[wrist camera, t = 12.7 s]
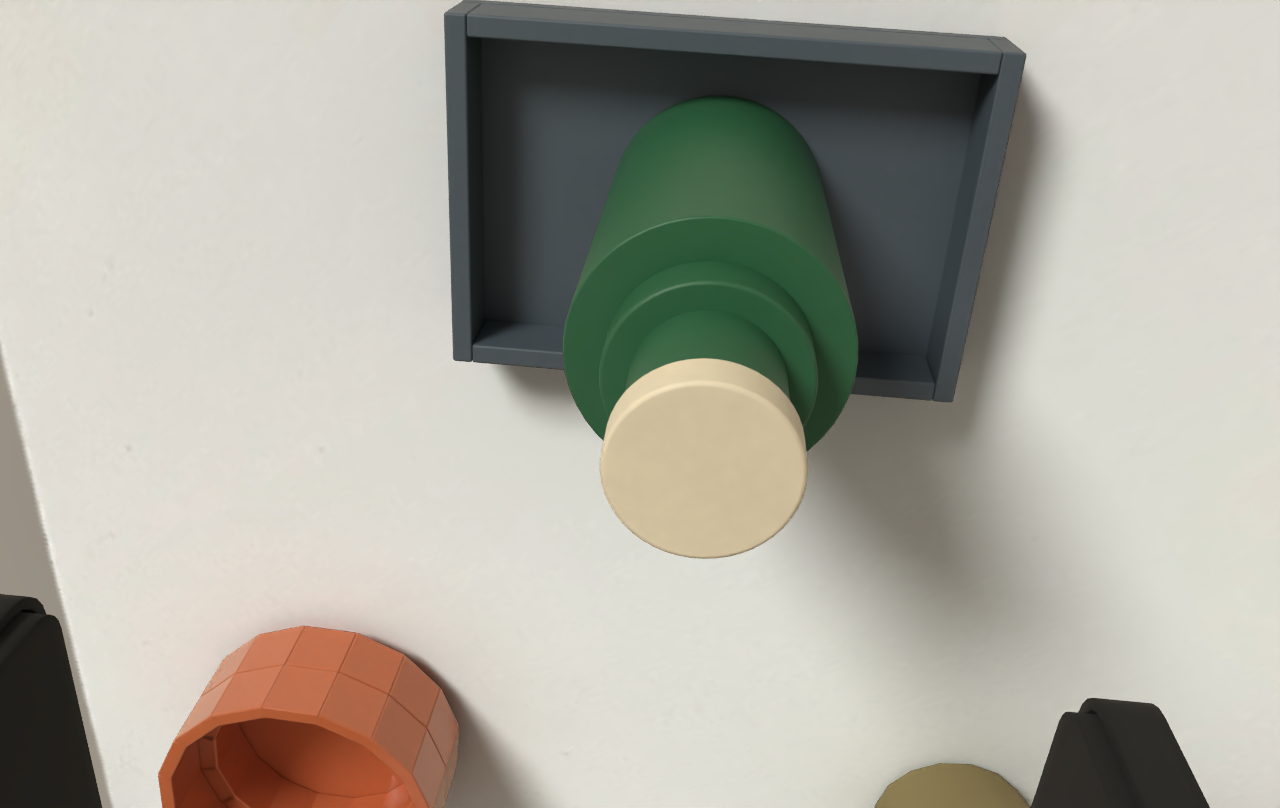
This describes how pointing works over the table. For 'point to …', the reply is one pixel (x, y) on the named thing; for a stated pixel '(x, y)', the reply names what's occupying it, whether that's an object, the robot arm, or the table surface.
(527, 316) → the tray
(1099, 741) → the robot arm
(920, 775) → the squeeze bottle
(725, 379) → the bottle
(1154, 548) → the table surface
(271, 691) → the bowl
